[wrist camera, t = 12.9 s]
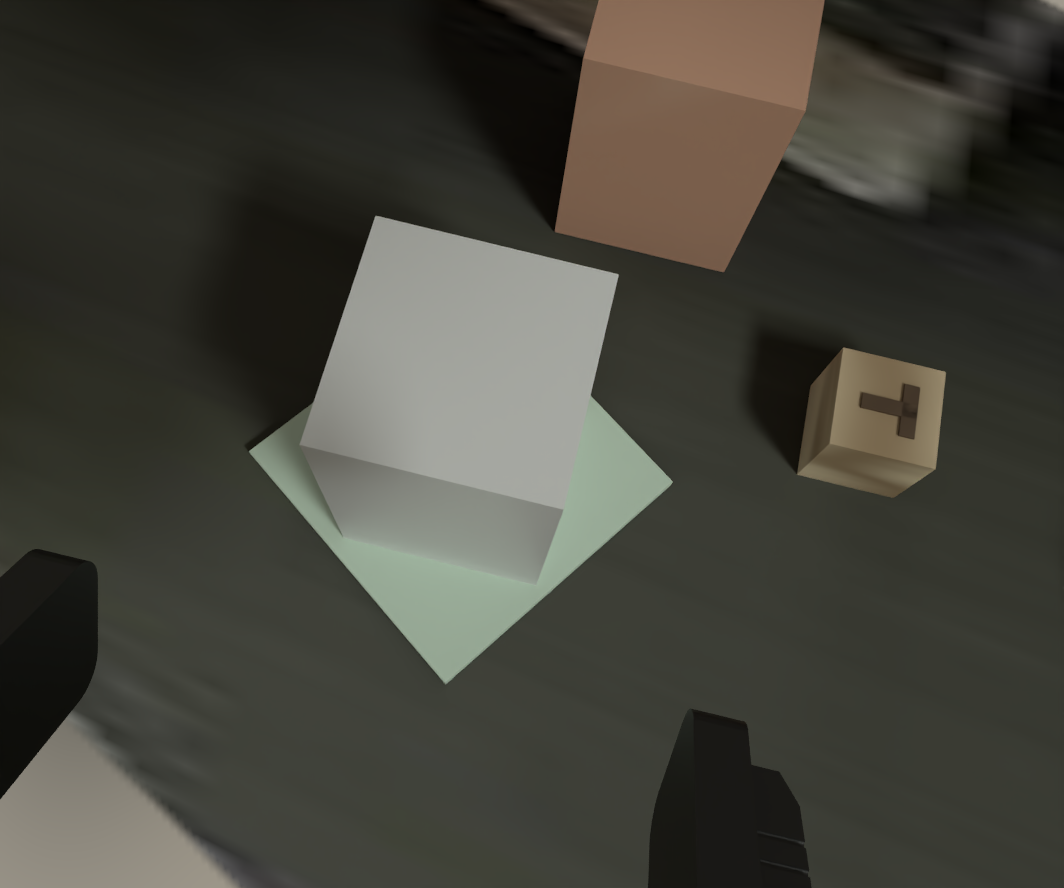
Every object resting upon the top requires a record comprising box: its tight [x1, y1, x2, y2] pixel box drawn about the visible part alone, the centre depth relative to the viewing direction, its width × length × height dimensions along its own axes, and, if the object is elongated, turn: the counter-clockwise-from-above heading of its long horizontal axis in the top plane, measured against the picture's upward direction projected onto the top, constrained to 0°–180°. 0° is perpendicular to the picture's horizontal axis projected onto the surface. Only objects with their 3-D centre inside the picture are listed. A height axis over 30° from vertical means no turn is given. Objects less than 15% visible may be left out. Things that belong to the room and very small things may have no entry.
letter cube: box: [797, 348, 946, 498], centre depth 34 cm, size 3×3×4 cm
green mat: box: [249, 396, 673, 685], centre depth 34 cm, size 10×10×1 cm
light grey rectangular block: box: [300, 216, 619, 585], centre depth 29 cm, size 6×6×9 cm
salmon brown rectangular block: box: [555, 0, 825, 272], centre depth 34 cm, size 6×6×9 cm
